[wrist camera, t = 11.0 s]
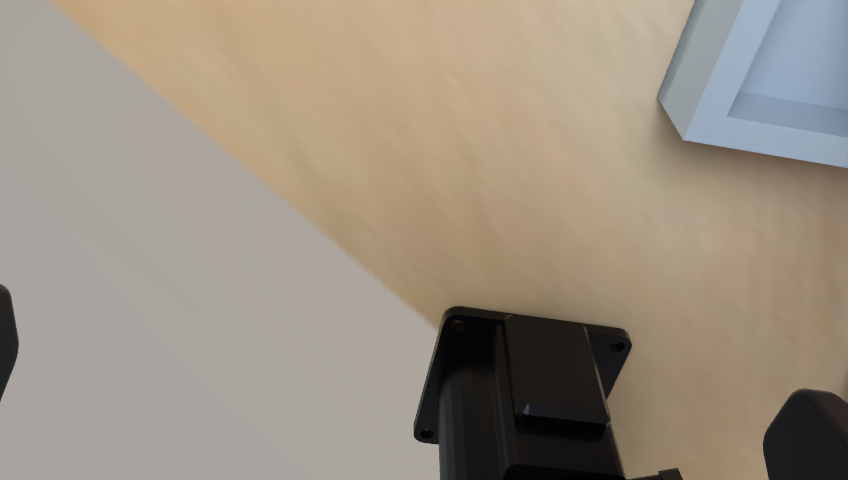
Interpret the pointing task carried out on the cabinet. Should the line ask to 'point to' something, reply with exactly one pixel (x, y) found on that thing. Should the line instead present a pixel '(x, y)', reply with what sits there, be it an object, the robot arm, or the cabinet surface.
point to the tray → (763, 78)
